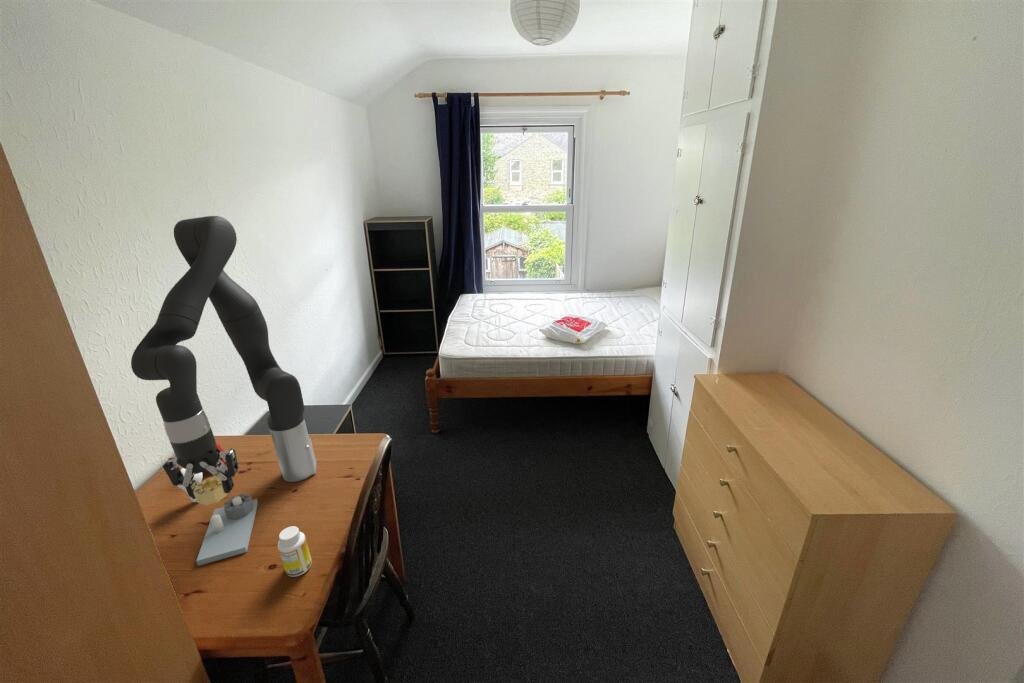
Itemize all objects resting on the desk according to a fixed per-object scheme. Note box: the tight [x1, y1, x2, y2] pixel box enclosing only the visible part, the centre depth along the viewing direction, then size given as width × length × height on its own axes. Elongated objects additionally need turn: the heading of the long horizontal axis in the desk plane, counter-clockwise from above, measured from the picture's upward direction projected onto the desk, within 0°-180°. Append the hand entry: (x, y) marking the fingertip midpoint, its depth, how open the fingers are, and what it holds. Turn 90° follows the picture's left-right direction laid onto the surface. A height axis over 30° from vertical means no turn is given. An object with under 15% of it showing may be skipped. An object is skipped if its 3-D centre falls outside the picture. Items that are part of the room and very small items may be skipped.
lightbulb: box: [177, 467, 204, 503], centre depth 121 cm, size 6×6×11 cm
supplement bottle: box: [277, 525, 313, 578], centre depth 98 cm, size 6×6×10 cm
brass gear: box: [193, 475, 229, 506], centre depth 101 cm, size 6×6×3 cm
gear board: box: [195, 493, 259, 566], centre depth 110 cm, size 10×18×6 cm, turn 21°
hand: (212, 493), depth 102 cm, fingers closed on brass gear, 6 cm apart
